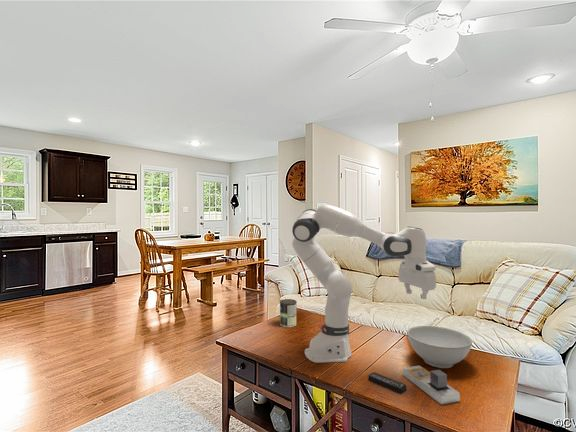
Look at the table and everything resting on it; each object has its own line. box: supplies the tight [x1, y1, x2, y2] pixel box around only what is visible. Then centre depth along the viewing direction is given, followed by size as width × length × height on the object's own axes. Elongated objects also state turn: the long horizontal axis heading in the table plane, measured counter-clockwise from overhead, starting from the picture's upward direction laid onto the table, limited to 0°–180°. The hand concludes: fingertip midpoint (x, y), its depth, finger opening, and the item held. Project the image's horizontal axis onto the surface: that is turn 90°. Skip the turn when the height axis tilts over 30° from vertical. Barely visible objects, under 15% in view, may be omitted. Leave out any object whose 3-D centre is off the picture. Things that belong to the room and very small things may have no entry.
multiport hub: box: [367, 371, 407, 395], centre depth 129 cm, size 4×14×2 cm, turn 44°
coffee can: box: [279, 298, 298, 328], centre depth 199 cm, size 10×10×14 cm
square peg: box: [429, 369, 448, 391], centre depth 122 cm, size 4×4×8 cm
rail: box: [402, 365, 461, 406], centre depth 127 cm, size 8×22×3 cm, turn 16°
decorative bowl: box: [406, 325, 473, 369], centre depth 149 cm, size 27×27×12 cm
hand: (416, 296), depth 141 cm, fingers open, 8 cm apart
